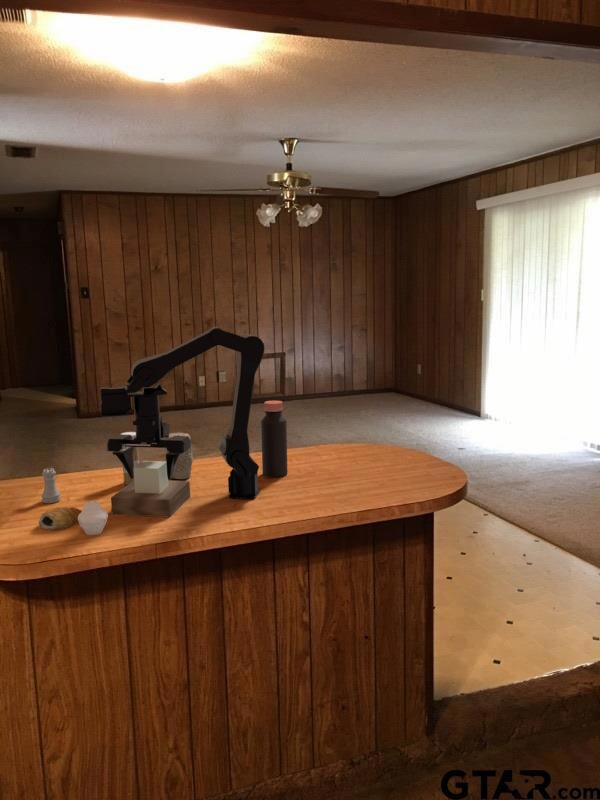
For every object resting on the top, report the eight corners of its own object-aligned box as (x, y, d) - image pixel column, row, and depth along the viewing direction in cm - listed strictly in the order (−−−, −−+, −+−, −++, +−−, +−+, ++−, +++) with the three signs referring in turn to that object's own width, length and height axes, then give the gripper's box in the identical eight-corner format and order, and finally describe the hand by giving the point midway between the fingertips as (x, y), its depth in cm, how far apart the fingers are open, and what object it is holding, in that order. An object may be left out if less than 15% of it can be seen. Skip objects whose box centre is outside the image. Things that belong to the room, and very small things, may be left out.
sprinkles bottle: (143, 483, 177) (140, 433, 174) (126, 486, 174) (123, 436, 172) (137, 479, 181) (134, 430, 178) (120, 482, 178) (117, 433, 176)
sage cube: (168, 485, 162) (167, 461, 161) (159, 493, 156) (158, 468, 155) (144, 484, 163) (143, 460, 162) (134, 492, 157) (133, 467, 156)
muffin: (109, 536, 142) (106, 504, 140) (78, 539, 140) (76, 507, 139) (108, 525, 147) (106, 495, 146) (79, 529, 146) (76, 498, 144)
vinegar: (292, 472, 184) (290, 401, 181) (278, 479, 179) (276, 405, 175) (271, 469, 188) (270, 398, 184) (257, 475, 182) (255, 403, 179)
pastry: (69, 514, 155) (68, 498, 155) (90, 519, 152) (89, 503, 152) (36, 528, 147) (34, 511, 147) (57, 533, 144) (56, 516, 143)
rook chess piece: (64, 498, 166) (62, 467, 164) (52, 504, 162) (49, 472, 160) (49, 497, 167) (47, 466, 166) (37, 503, 163) (34, 471, 162)
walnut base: (190, 496, 166) (189, 481, 165) (170, 516, 152) (169, 499, 151) (136, 494, 168) (135, 479, 167) (112, 514, 154) (110, 497, 154)
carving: (197, 478, 181) (195, 434, 179) (171, 483, 177) (169, 438, 175) (187, 472, 186) (185, 430, 184) (161, 477, 182) (159, 434, 180)
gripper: (196, 408, 162) (199, 470, 165) (123, 406, 165) (127, 468, 168) (181, 417, 152) (184, 484, 154) (103, 416, 155) (108, 481, 157)
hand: (151, 478), depth 159 cm, fingers open, 9 cm apart
